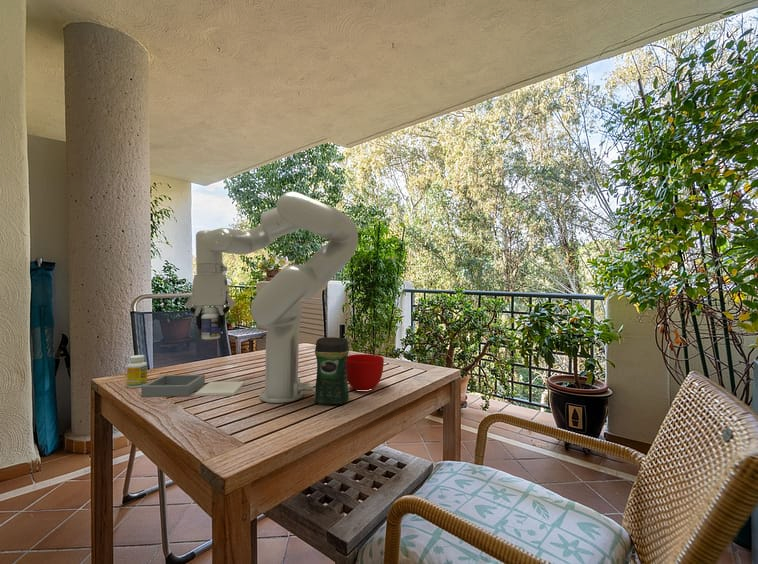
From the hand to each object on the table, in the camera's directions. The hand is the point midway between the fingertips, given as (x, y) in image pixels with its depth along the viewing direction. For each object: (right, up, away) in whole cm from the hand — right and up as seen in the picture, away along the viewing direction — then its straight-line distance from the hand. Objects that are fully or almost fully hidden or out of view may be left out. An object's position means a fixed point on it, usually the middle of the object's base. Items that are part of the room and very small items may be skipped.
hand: (211, 327), depth 113 cm
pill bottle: (0, -4, 0) cm, 4 cm away
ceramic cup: (+48, -21, +6) cm, 52 cm away
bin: (-11, -19, -1) cm, 22 cm away
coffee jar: (+39, -21, -9) cm, 45 cm away
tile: (+3, -20, +1) cm, 20 cm away
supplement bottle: (-25, -19, +3) cm, 32 cm away
